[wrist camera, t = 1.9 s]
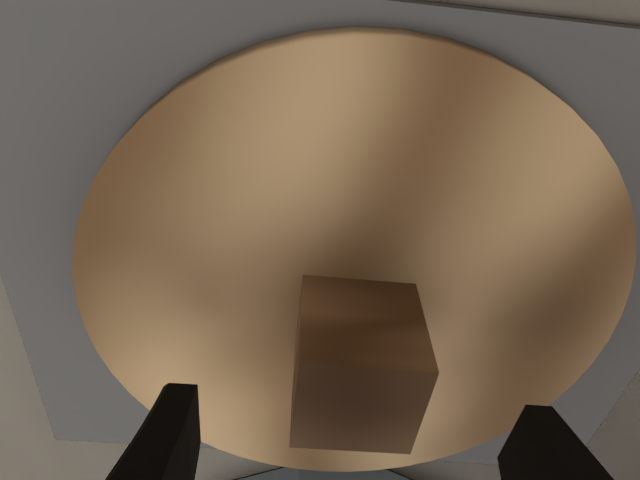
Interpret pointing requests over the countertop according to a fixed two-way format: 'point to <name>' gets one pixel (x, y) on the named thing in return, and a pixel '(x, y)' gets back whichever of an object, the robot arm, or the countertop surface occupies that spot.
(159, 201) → the lid
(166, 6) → the mat
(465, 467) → the countertop surface
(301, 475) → the bowl
